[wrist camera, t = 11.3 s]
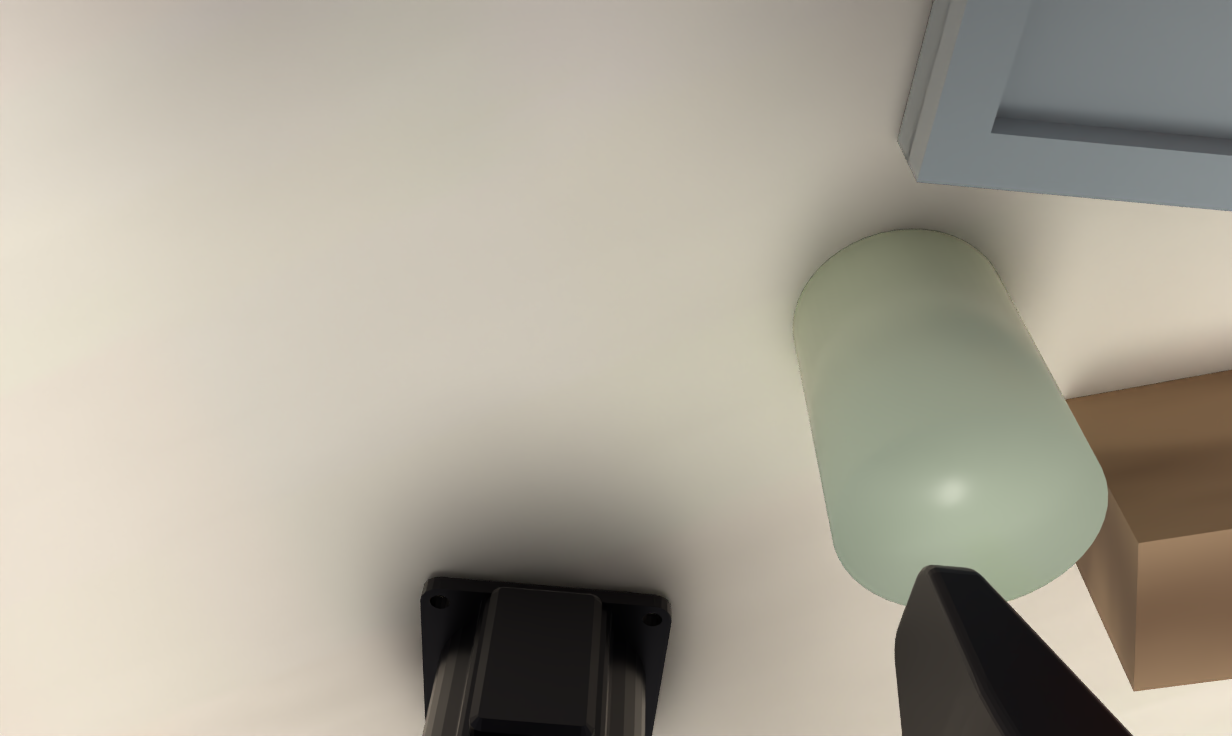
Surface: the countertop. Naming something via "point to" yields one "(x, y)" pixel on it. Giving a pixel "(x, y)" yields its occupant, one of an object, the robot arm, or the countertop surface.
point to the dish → (1076, 99)
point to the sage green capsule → (939, 421)
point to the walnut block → (1164, 527)
